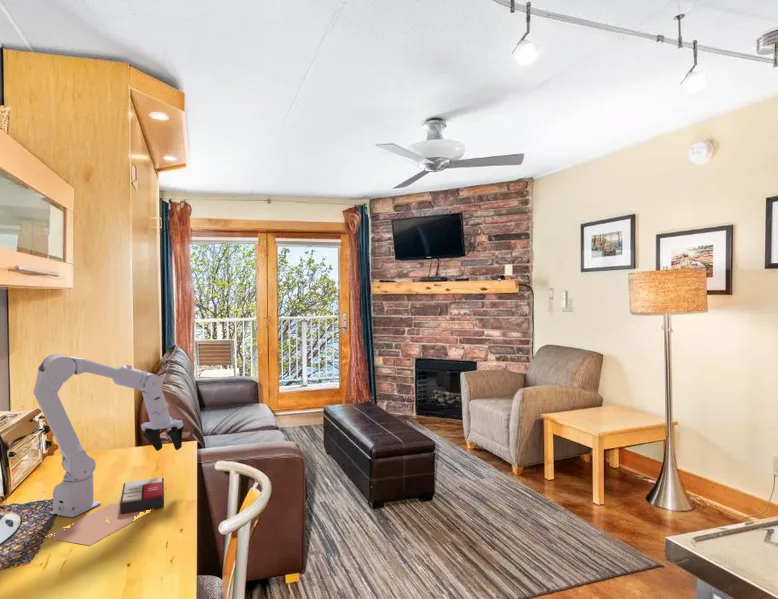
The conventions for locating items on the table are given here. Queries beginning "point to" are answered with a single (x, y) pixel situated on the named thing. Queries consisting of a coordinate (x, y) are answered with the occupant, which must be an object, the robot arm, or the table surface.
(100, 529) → the mat
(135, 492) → the black white red box
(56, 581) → the table surface
